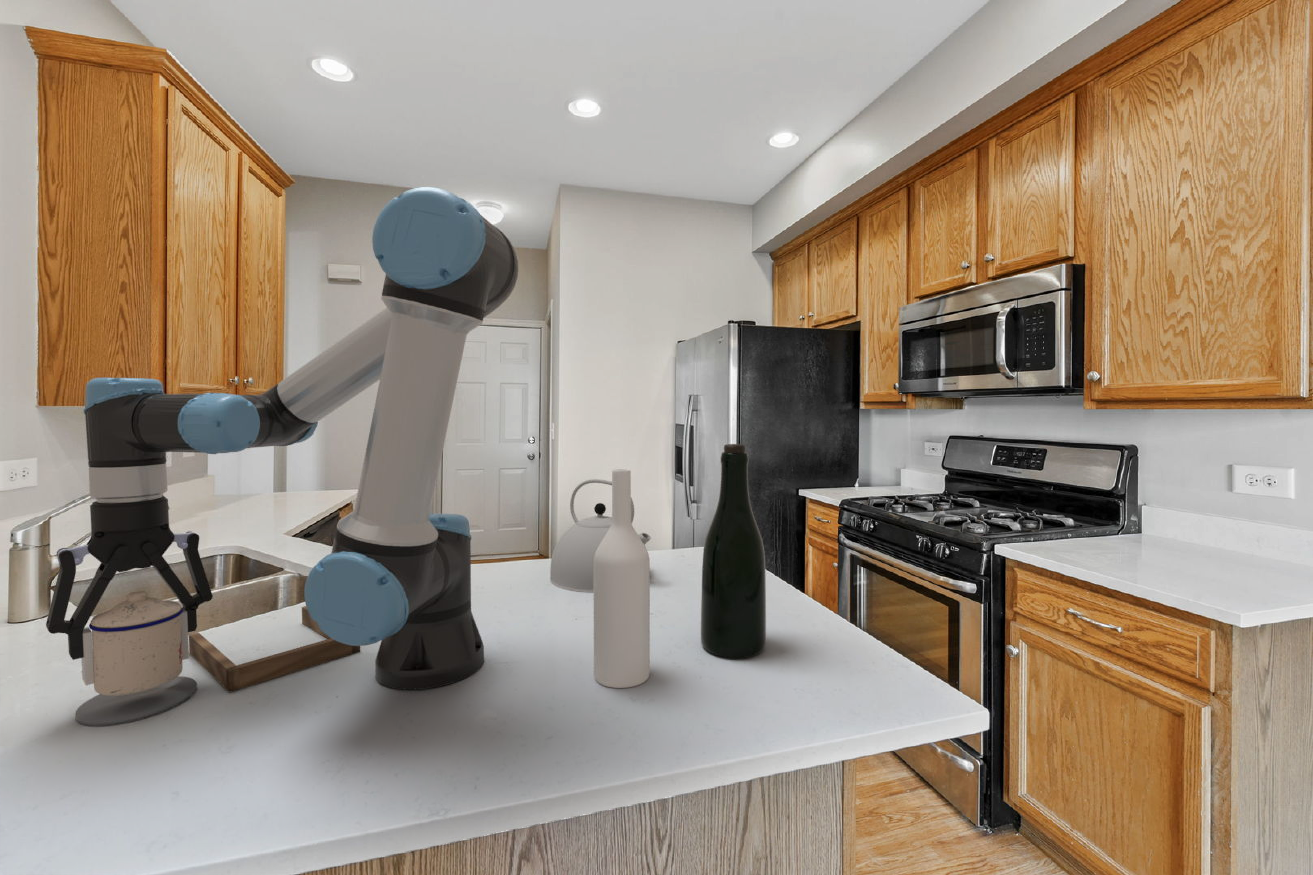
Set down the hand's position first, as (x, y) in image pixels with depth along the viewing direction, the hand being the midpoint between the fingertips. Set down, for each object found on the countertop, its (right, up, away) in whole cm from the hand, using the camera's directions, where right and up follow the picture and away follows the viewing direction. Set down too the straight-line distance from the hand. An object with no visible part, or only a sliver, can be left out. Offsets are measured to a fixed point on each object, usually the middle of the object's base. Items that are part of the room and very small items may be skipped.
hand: (137, 668), depth 77 cm
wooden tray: (+8, -4, +16) cm, 18 cm away
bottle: (+63, -4, +8) cm, 64 cm away
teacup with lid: (0, -2, 0) cm, 2 cm away
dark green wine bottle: (+81, -4, +18) cm, 83 cm away
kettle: (+56, -2, +56) cm, 80 cm away
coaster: (0, -5, 0) cm, 5 cm away
